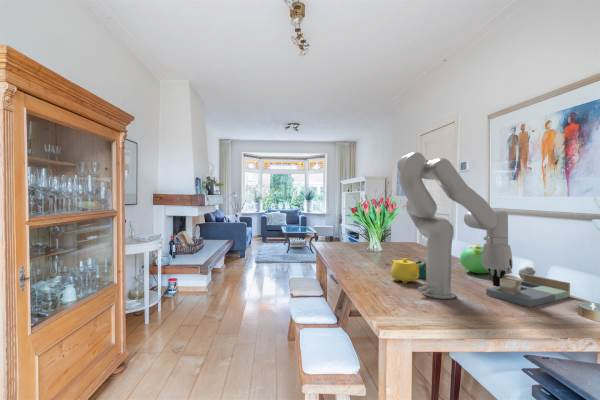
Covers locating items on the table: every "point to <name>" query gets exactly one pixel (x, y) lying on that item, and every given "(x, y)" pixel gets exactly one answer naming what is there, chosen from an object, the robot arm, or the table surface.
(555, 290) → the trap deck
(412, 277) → the teapot
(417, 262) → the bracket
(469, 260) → the green rounded piece
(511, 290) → the block
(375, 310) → the table surface
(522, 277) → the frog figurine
